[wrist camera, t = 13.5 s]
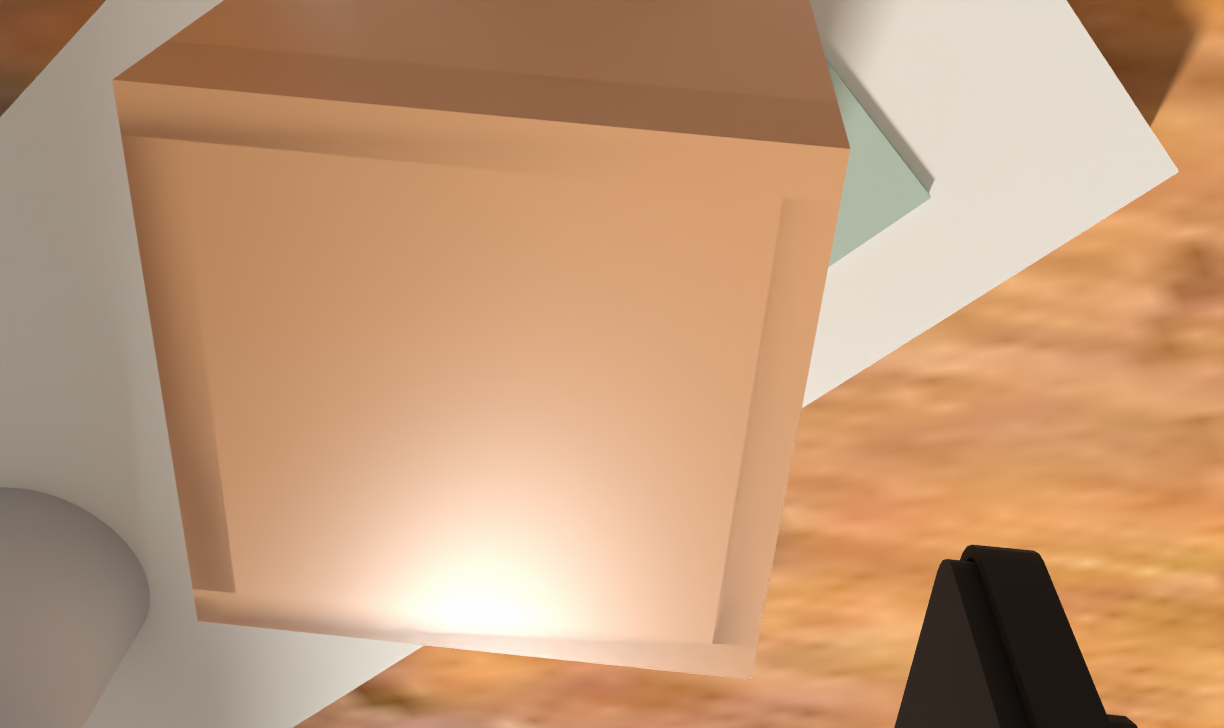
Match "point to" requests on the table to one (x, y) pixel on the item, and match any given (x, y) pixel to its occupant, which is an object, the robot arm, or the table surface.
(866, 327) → the post board
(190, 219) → the brown block
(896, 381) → the table surface
